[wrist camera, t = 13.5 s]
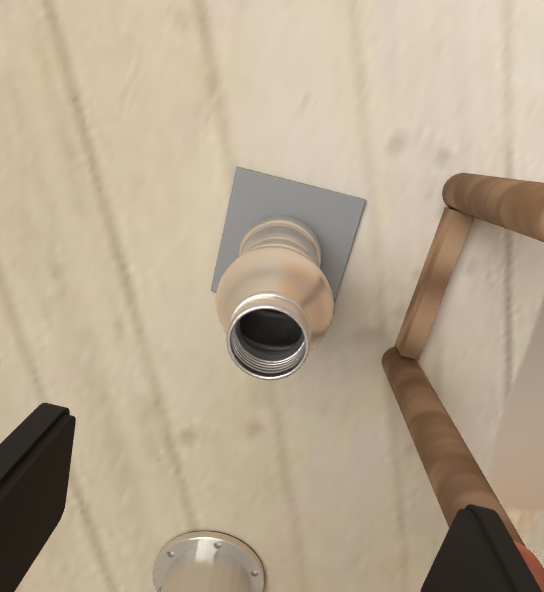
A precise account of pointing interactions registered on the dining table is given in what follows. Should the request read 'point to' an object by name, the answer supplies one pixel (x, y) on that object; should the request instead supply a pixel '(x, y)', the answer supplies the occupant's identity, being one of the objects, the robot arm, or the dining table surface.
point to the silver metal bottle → (274, 298)
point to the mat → (299, 205)
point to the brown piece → (418, 321)
